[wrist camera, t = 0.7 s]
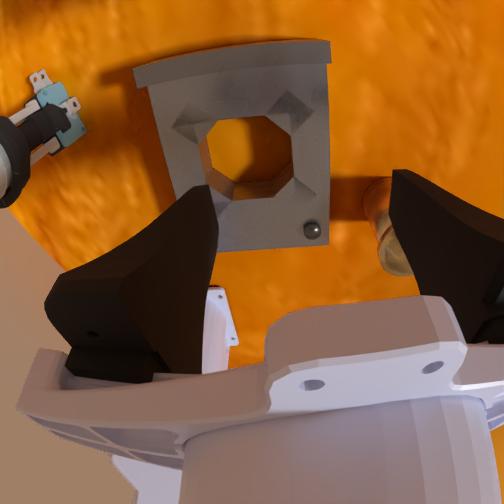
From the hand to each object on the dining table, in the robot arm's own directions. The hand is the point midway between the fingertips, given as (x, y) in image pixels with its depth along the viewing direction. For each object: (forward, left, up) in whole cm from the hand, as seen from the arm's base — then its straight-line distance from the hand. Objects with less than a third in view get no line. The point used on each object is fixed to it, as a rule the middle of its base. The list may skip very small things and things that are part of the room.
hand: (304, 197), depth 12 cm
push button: (+5, +16, -10) cm, 19 cm away
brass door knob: (-6, -7, -10) cm, 14 cm away
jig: (-1, +3, -10) cm, 10 cm away
